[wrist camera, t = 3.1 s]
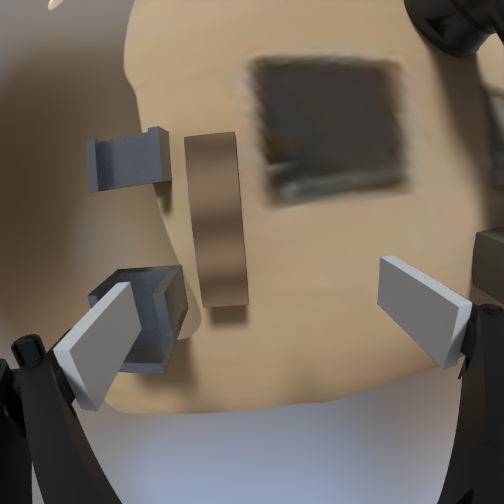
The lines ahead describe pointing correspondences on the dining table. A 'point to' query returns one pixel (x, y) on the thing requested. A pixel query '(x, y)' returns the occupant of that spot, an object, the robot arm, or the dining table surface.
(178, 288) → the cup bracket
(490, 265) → the book
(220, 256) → the rail
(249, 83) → the dining table surface
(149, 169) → the saddle block
